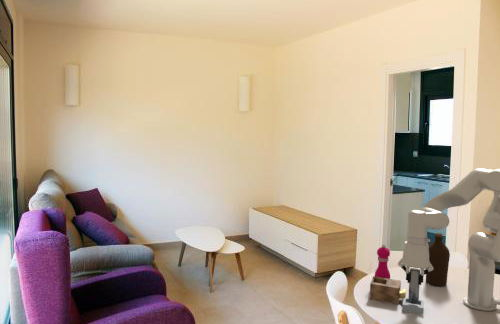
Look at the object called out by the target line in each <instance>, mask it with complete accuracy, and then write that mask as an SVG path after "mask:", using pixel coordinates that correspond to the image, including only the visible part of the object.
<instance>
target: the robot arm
mask: <svg viewBox="0 0 500 324" xmlns="http://www.w3.org/2000/svg"><path fill="white" fill-rule="evenodd" d="M484 190H486V191H489V192H493V198H492V200H491V203H490V205H489V206H488V209H487V210H486V213H485V215H484V217H483V220H482V227H483V228H484V229H485V230H487V231H488V232H490V233H494V234H496V235H492V234H490V233H487V232H481V231H477V232H474V233H473V234H471V235H470V236H469V238H468V243H467V244H468V252H469V267H468V270H469V271H468V285H467V296H466V297H463V299H462V302H463V304H464V305H466V306H467V307H469V308H471V309H474V310H478V311H483V312H493V311H496V310H497V307H498V306H500V298H496V297H494V286H495V275H496V274H495V273H496V264H495V262H496V263H500V168H496V169H489V168H488V169H487V168H481V167H479V168H475V169H473V170H471V171H470V172H469V173H468V174H467V175H466V176H464V178H462V179H461V180H460V181H458V182H457V184H456V185H454V186H453V187H452V188H451V189H449V190H446V191H444V192H442V193H440V194H438V195H435V196H433V197H432V198H431V199H430V200H428V201H427V202H426V203H424V205H422V207H420V209H412V210H409V211H408V214H407V230H406V241H404V246H403V252H402V258H400V260H399V261H398V262H397V266H399V267H400V268H401V269H402V270H403V271H404V272H405V281H407V284H409V281H410V269H411V268H416V269H419V270H420V282H419V285H420V286H422V284H423V283H424V277H425V276H426V273H428V272H430V271H432V270H433V269H434V268H433V266H432V265H431V263H430V262H429V243H431V239H430V238H428V229H429V230H430V229H431V230H436V231H437V230H441V231H442V230H444V229H446V228H447V227H449V225H450V218H449V216H448V215H447V214H446V213H445V212H443V211H446V209H450V208H451V209H452V208H455V207H462V206H466V205H469V203H470V202H472V201H473V200H475V198H476V197H477V196H478V195H479V194H481V193H482V192H483V191H484ZM428 266H429V268H428Z"/></svg>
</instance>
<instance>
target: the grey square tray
mask: <svg viewBox="0 0 500 324" xmlns="http://www.w3.org/2000/svg"><path fill="white" fill-rule="evenodd" d="M408 298H409V297H407V296H406V297H404V299H403V301H402V309H401V311H403V312H407V311H408V313H412V312H413V313H414V314H418V315H424V308H425V307H424V305H425V301H424V300H422V299H419V303H418V304H411V303H409V302H408Z"/></svg>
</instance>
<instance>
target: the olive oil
mask: <svg viewBox="0 0 500 324" xmlns="http://www.w3.org/2000/svg"><path fill="white" fill-rule="evenodd" d="M428 246H429V262H430V263H431V265H432V266H433V268H434V269H433V270H432V271H430V272H428V273H426V274H425V283H426V284H427V285H428V286H433V287H438V288H444V287H446V286H447V283H448V276H449V275H448V273H449V267H450V266H449V265H450V264H449V263H450V257H451V256H450V255H451V253H450V250H449V248H448V246H446V244H445V243H444V242H443V233H442V232H435V234H434V241H433V242H430V244H428ZM428 268H429V266H428Z"/></svg>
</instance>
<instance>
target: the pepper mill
mask: <svg viewBox="0 0 500 324" xmlns="http://www.w3.org/2000/svg"><path fill="white" fill-rule="evenodd" d="M386 246H387V245H386V244H385V243H384V244H382V245H381V247H379V248H378V249H377V250H376V254H377V261H378V266H377V267H376V269H375V273H374V276H375V277H381V278H388V279H391V273H390V270H389V268H388V262H389V261H390V260H389V257H390V256H391V251H390V249H389V248H387V247H386Z"/></svg>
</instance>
